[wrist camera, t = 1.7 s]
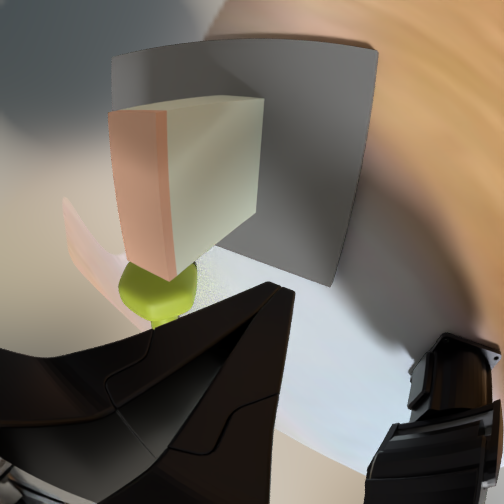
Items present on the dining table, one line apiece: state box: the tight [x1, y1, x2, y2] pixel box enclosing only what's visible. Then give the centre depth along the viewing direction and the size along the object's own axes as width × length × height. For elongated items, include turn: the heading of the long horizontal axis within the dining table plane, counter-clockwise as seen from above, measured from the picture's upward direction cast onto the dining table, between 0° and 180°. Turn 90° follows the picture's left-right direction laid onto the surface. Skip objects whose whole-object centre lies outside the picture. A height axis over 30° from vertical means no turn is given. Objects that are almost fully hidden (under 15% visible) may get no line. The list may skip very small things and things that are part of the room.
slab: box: [108, 95, 264, 282], centre depth 16 cm, size 3×8×9 cm, turn 177°
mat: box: [111, 39, 378, 287], centre depth 20 cm, size 22×16×1 cm
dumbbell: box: [118, 262, 197, 329], centre depth 30 cm, size 16×8×7 cm, turn 174°
